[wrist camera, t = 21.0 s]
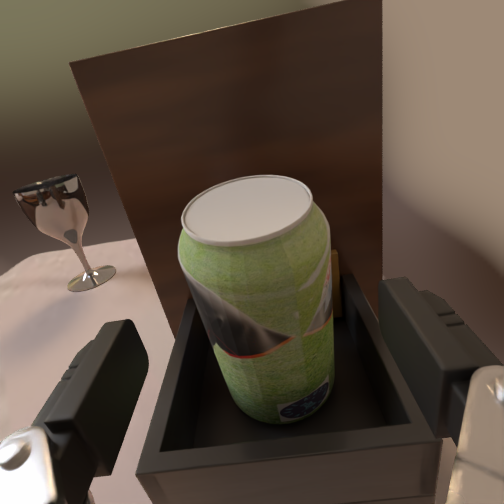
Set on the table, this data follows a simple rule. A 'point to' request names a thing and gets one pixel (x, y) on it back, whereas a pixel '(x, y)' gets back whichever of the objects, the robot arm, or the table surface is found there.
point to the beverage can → (264, 292)
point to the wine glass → (63, 220)
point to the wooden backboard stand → (341, 235)
